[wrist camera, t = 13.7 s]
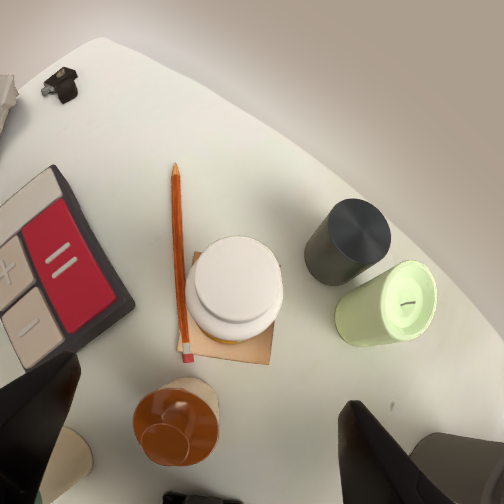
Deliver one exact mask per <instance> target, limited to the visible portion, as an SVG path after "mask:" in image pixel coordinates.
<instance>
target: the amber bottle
mask: <svg viewBox="0 0 504 504" xmlns="http://www.w3.org/2000/svg"><path fill="white" fill-rule="evenodd" d="M133 428H134V432H135V436H136V438H137V440H138V442H139V444H140V445H141V446H142V448H143V450H144V452H145V454H146V455H147V456H148V457H149V458H150V459H151V460H152V461H154V462H155V463H157V464H160V465H164V466H188V465H193V464H196V463H198V462H200V461H202V460H204V459H205V458H207V457H208V456H209V455H210V454H211V453H212V451H213V450H214V448H215V446H216V444H217V442H218V437H219V404H218V398H217V396H216V394H215V392H214V390H213V389H212V388H211V387H210V386H209V385H208V384H207V383H205V382H204V381H202V380H200V379H197V378H193V377H182V378H178V379H176V380H174V381H172V382H170V383H168V384H166V385H165V386H163V387H161V388H159V389H157V390H155V391H153V392H152V393H150V394H148V395H147V396H145V397H144V398H143V399H142V400H141V401H140V403H139V404H138V406H137V408H136V410H135V413H134V417H133Z"/></svg>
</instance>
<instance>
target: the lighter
mask: <svg viewBox="0 0 504 504" xmlns="http://www.w3.org/2000/svg"><path fill="white" fill-rule="evenodd" d="M75 78H77V74H76V71H75V70H73V69H69V68H66V67H63V68H61V69H60V70H59V71H57V72H56V73H55V74H54V75H52V76H51V77H50V78H49V79H47V80H46V81H45V82H44V83H43V84H44V86H45V87H44V88H43V89H42V90H41V92H42V94H43V95H44V96H45V95H47V94H48V93H49V92H50V91H51V92H54V93H57V94H58V98H59V99H60V101H61V102H62V103H63V104H64V103H66V102H67V101H69V100H71V99H73V98H75V97H76V96H77V93H78V91H77V87H76V84H75V82H74V79H75Z"/></svg>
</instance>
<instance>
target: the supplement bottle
mask: <svg viewBox="0 0 504 504" xmlns="http://www.w3.org/2000/svg"><path fill="white" fill-rule="evenodd" d="M185 297H186V303H187V306H188V309H189V312H190V314H191V316H192V318H193V319H194V321H195V322H196V324H197V325H198V327H199V328H200V330H201V331H202V332H203V333H204V334H205V335H206V336H207V337H209V338H210V339H212V340H214V341H216V342H219V343H222V344H237V343H241V342H244V341H246V340H248V339H250V338H252V337H254V336H257V335H258V334H260V333H261V332H263V331H264V330H265V329H267V328H268V327H269V326H270V324H271V323H272V322H273V321H274V319H275V318H276V316H277V315H278V313H279V311H280V308H281V305H282V301H283V284H282V280H281V271H280V267H279V264H278V262H277V260H276V258H275V256H274V255H273V253H272V252H271V251H270V250H269V249H268V248H267V247H266V246H265V245H264V244H262V243H260V242H259V241H257V240H255V239H252V238H249V237H245V236H230V237H225V238H222V239H219V240H217V241H215V242H214V243H212V244H211V245H209V246H208V247H207V248H206V249H205V250H204V251H203V252H202V254H201V255H200V257H199V258H198V260H197V261H196V262H195V263H194V265H193V266H192V268H191V269H190V271H189V274H188V277H187V280H186V286H185Z"/></svg>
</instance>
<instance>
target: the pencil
mask: <svg viewBox="0 0 504 504" xmlns="http://www.w3.org/2000/svg"><path fill="white" fill-rule="evenodd" d="M171 184H172V229H173V251H174V269H175V284H176V297H177V308H178V319H179V329H181V338H182V347H183V352H182V356H183V362H184V363H189V362H194V359H193V354H191V348H190V339H189V330H188V321H187V311H186V297H185V286H186V283H185V270H184V256H183V239H182V220H181V194H180V174H179V171H178V167H177V164H176V162H175V165H174V169H173V173H172V177H171Z"/></svg>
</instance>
